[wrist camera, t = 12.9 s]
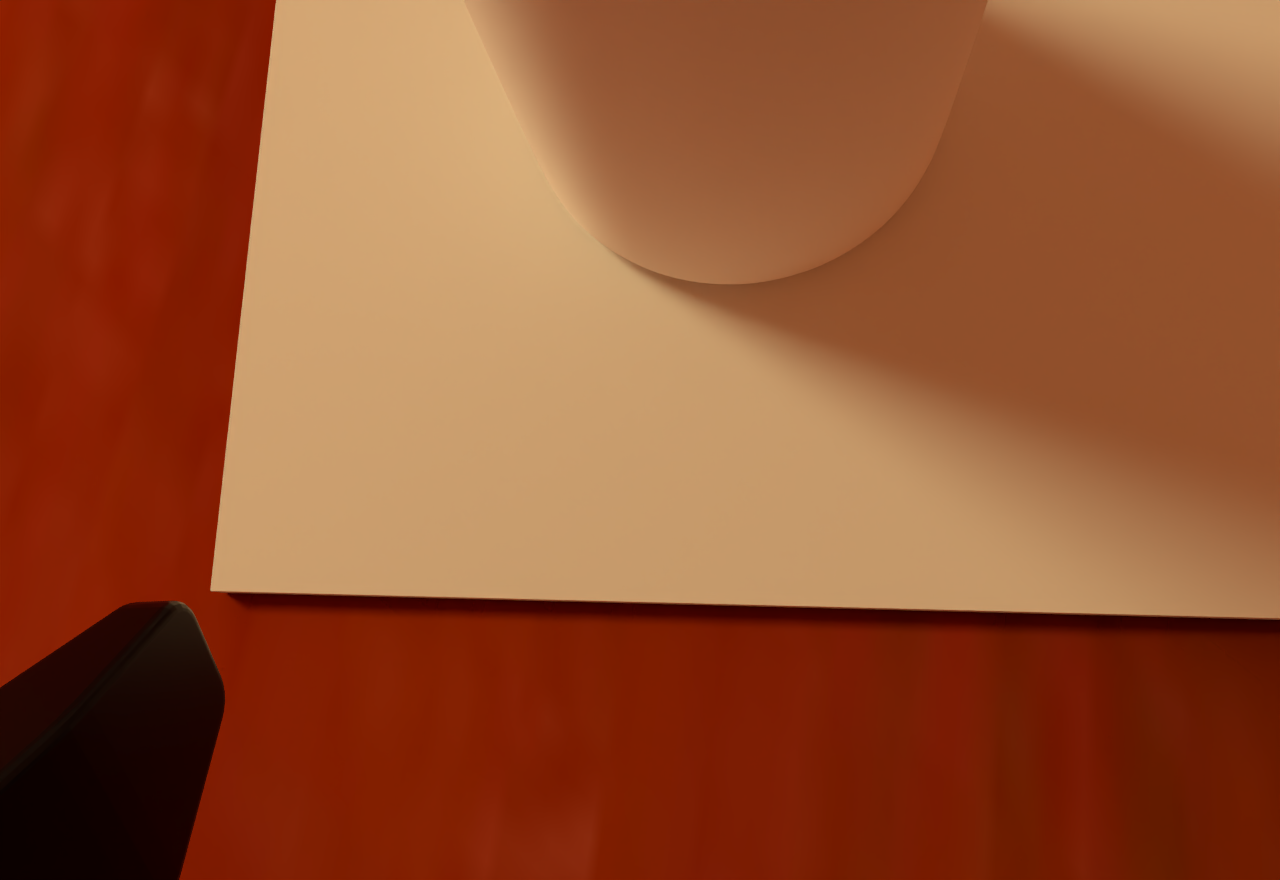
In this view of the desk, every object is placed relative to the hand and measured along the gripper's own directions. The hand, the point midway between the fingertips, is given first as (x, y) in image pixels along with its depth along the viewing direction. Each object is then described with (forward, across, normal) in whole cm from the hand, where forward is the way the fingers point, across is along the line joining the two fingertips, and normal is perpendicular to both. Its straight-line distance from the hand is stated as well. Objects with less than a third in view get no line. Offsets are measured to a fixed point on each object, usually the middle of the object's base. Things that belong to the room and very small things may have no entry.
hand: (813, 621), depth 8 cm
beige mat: (+12, 0, 0) cm, 12 cm away
